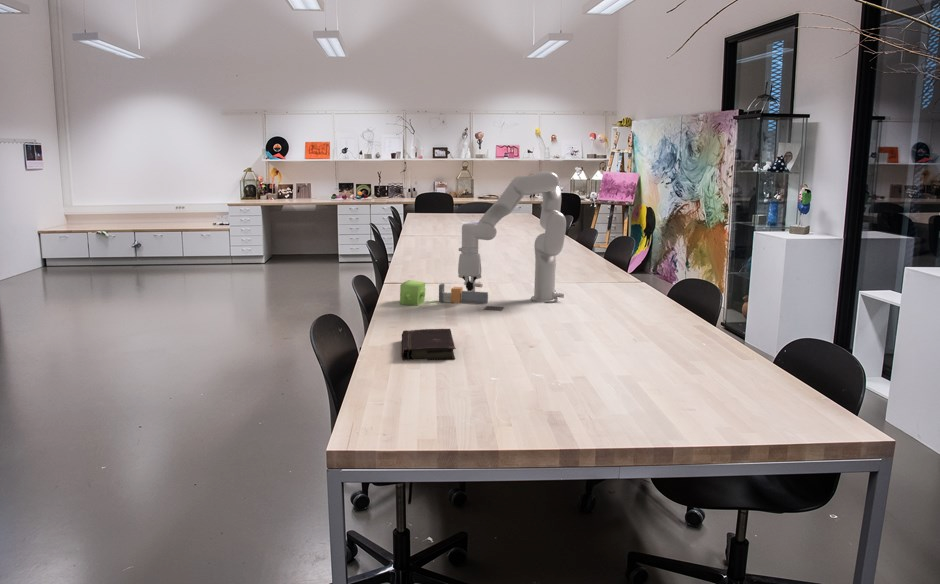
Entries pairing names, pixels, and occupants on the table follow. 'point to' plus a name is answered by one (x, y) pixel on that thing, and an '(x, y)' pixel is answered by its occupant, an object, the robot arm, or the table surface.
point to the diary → (428, 344)
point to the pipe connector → (475, 285)
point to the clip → (456, 294)
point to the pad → (493, 308)
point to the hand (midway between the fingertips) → (469, 290)
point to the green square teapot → (412, 292)
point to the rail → (463, 296)
